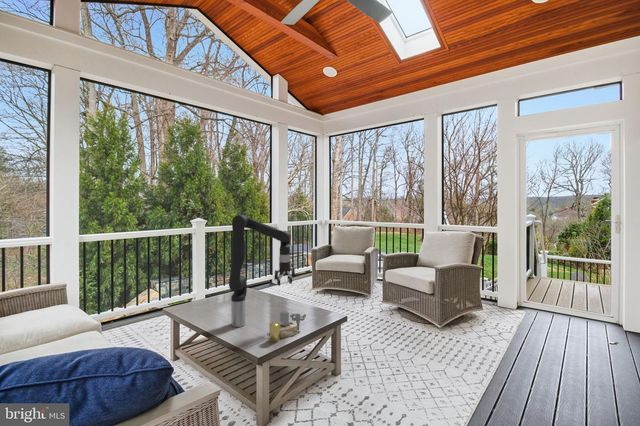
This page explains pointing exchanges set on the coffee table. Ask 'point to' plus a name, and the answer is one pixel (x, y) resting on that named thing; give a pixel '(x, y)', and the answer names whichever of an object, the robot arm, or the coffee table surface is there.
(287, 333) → the socket block
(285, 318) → the bar
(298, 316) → the mechanical component
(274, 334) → the round brass bit
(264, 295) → the coffee table surface
